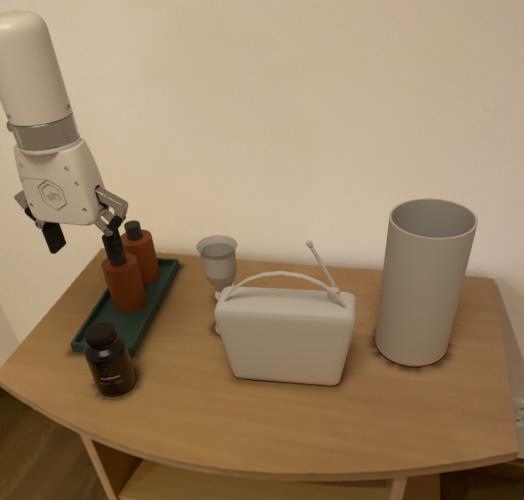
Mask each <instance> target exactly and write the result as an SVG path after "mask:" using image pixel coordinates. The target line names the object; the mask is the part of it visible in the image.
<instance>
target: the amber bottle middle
mask: <svg viewBox="0 0 524 500" xmlns="http://www.w3.org/2000/svg"><path fill="white" fill-rule="evenodd" d="M100 266H101V267H100V268H101V270H102V272H103V276H104V279H105V282H106V285H107V287H108V289H109V292H110V295H111V298H112V301H113V304H114V307H115V309H116V310H117V311H119V312H121V313H132V312H136V311H138V310H140V309H142V308H143V307H144V306H145V305H146V303H147V297H146V293H145V289H144V285H143V282H142V278H141V274H140V270H139V266H138V263H137V259H136V257H135V256H134V255H133V254H131V253H125V251H124V247H123V252H122V253H121V254H120V255H119V256H118V257H117V258H116V259H115V260H114V261H110V260H109V259H108V257H107V256H106V257H105V258H104V259H103V260H102V261H101V264H100Z"/></svg>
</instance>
